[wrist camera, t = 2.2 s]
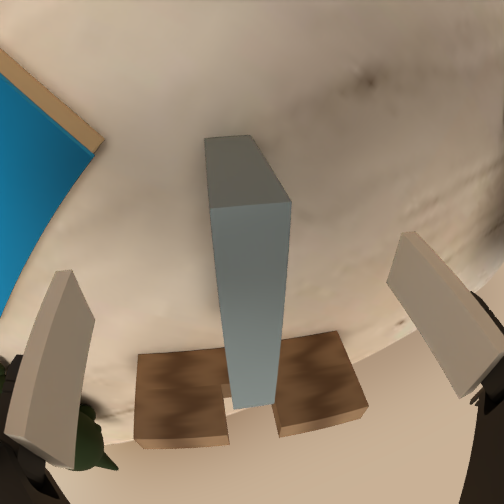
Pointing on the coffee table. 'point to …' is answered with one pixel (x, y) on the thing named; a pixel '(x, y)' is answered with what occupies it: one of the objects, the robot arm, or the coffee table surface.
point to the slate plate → (248, 263)
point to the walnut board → (218, 387)
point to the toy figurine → (84, 438)
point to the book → (34, 164)
